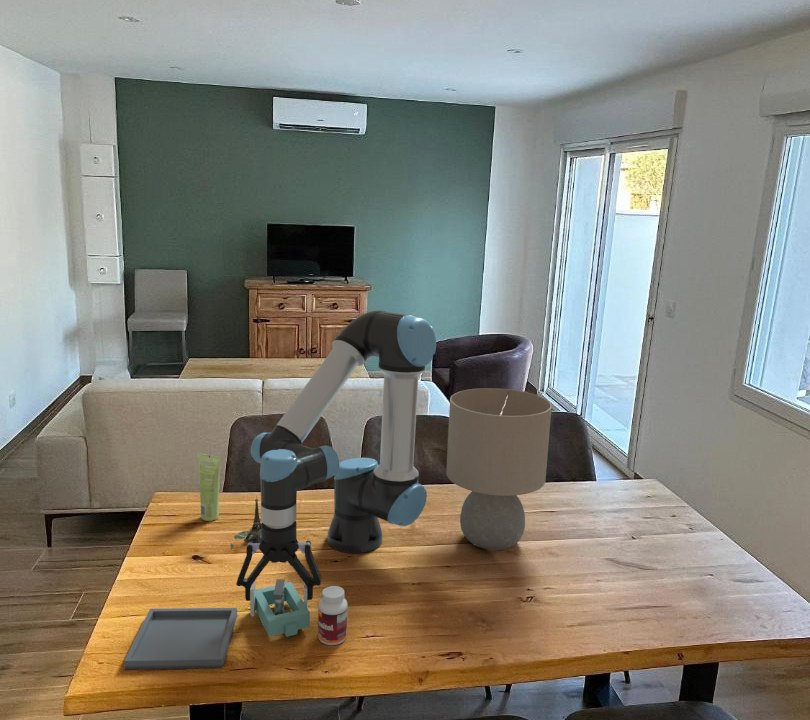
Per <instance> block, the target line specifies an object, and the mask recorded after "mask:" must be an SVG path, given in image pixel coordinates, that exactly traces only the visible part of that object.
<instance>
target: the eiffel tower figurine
mask: <svg viewBox="0 0 810 720" xmlns="http://www.w3.org/2000/svg"><path fill="white" fill-rule="evenodd" d="M254 501H255V504H254V505H255V506H254V507H255V509H254V518H253V524H252V525H251V526H252V527H251V529H249V530H243V531H240V532H238V533H237V534H235V535H233V538H234V539H235V540H243V542H247V543H248V542H249V541H253V543H260V542H261V523H262V521H261V518H260V512H259V500H258V499H257V494H256V498H255V500H254ZM230 549H231V550H233V549H235V544H233V543H230Z"/></svg>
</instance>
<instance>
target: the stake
mask: <svg viewBox="0 0 810 720" xmlns="http://www.w3.org/2000/svg"><path fill="white" fill-rule="evenodd" d="M285 581H286V580H285V578H276V582H275V585H274V586H275V590H274V595H273V597H274V600H275V604H274V612H273V613H274V615H279V614H284V613H287V612H285V601H284V585H285V583H286V582H285Z"/></svg>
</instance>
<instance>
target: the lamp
mask: <svg viewBox="0 0 810 720" xmlns="http://www.w3.org/2000/svg"><path fill="white" fill-rule="evenodd" d="M552 408H553V407H552V403H551V402H550V401H549V400H548V399H546V398H544V397H542V396H540V395H537V394H535V393H530V392H527V391H523V390H518V389H517V390H516V389H507V388H497V387H495V388H492V387H491V388H488V387H487V388H486V387H485V388H481V387H480V388H472V389H465V390H461V391H458V392H456V393H454V394H452V395H451V396H450V397H449V410H448V411H449V413H448V414H449V415H448V429H447V430H448V431H447V435H448V436H447V453H446V469H445V470H446V471H445V472H446V477H447V478H448V480H449V481H450V482H451V483H453V484H454V485H456V486H458V487H460V488H462V489H465V490H467V491H470V492H469V494H468V495H466V498H465V499H464V502H463V504H462V507H461V511H460V515H459V523H460V529H461V532H462V535H464V537H465V538H466V540H468V541H469V543H471V544H473V545H474V546H476V547H477V548H480V549H483V550H488V551H502V550H506V549H510V548H512V547H513V546H515V545H516V544H517V543H519V541H521V539H522V538H523V535H524V532H525V528H526V513H525V509H524V506H523V503H522V501H521V499H520V498H519V497H518V496H522V495H527V494H530V493H533V492H536V491H538V490H540V489H542V488H543V487H544V486H545V484H546V478H547V476H546V475H547V464H548V452H549V440H550V430H551V418H552Z"/></svg>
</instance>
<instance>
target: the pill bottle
mask: <svg viewBox="0 0 810 720" xmlns="http://www.w3.org/2000/svg"><path fill="white" fill-rule="evenodd" d="M317 607H318V610H317V612H318V614H317V615H318V616H317V618H318V619H317V620H318V622H317V626H318V627H317V638H318V640H319V641H320V643H322V644H324V645H327V646H337V645H340V644H342V643H343V642H345V641H346V639H347V635H348V601H347V599H346V597H345V590H344V588H343V587H340V586H339V585H330V586H327V587H325V588H324V589H322V591H321V599H320V600H319V601H318V606H317Z"/></svg>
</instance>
